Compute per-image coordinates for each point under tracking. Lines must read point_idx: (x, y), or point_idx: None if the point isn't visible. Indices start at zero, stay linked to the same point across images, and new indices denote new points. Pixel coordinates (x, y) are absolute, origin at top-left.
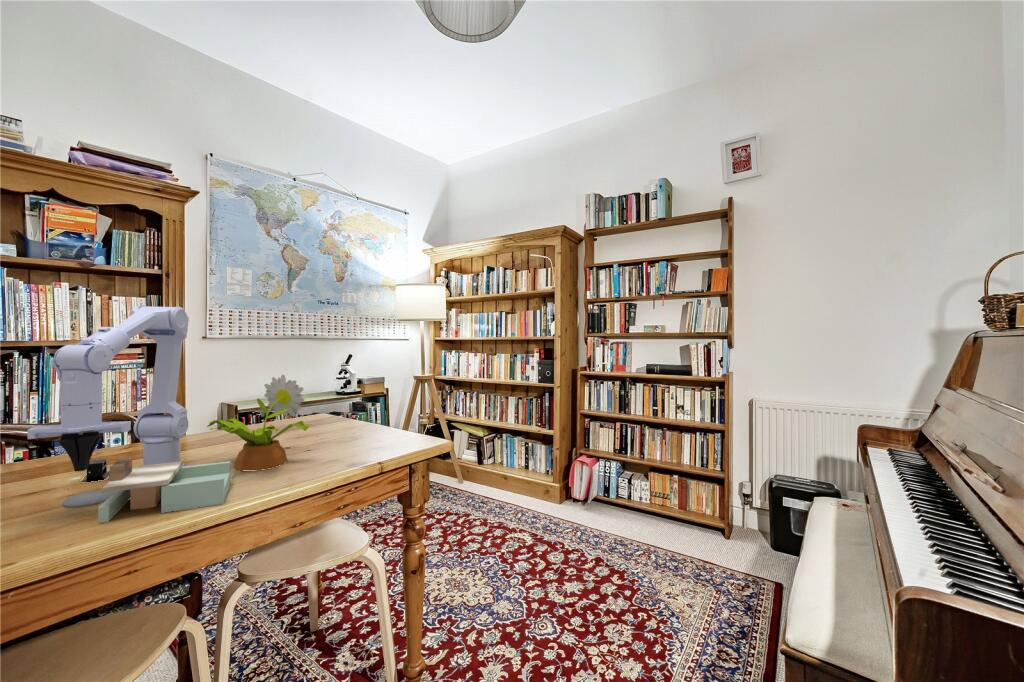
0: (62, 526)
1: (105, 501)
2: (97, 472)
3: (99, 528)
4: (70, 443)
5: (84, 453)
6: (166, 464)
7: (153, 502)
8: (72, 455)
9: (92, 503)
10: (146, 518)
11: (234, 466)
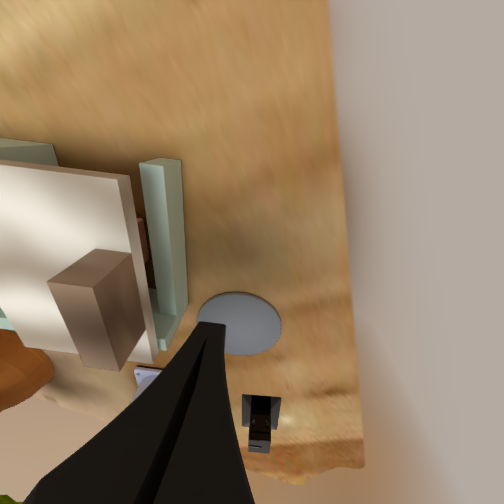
0: (252, 187)
1: (166, 219)
2: (256, 418)
3: (163, 112)
4: (186, 493)
5: (160, 389)
6: (52, 339)
7: None
8: (212, 391)
9: (229, 294)
10: (73, 124)
11: (43, 359)
